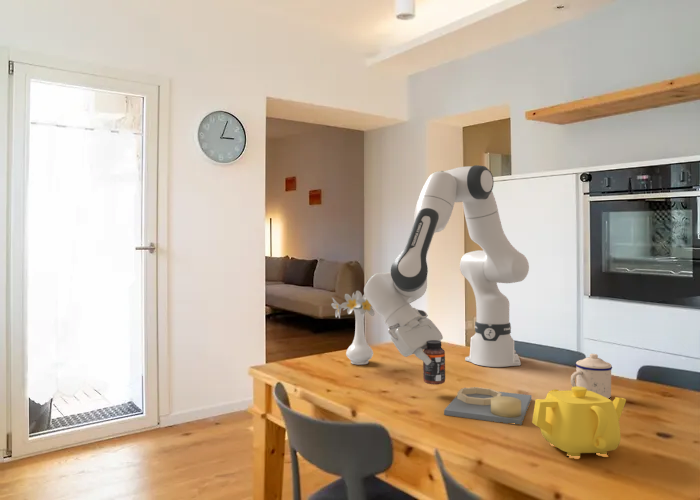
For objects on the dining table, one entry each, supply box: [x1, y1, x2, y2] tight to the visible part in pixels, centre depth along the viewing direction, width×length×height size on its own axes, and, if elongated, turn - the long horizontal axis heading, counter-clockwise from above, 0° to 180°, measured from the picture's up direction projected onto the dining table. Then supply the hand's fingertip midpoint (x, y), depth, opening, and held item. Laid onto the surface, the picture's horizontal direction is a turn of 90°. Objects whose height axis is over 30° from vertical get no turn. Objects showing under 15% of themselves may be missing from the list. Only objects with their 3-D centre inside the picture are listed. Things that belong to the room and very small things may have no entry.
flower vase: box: [330, 290, 375, 366], centre depth 187 cm, size 13×18×25 cm
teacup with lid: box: [570, 353, 613, 399], centre depth 147 cm, size 12×9×12 cm
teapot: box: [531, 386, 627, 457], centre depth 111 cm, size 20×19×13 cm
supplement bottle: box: [422, 340, 446, 386], centre depth 148 cm, size 6×6×11 cm
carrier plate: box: [443, 386, 532, 426], centre depth 138 cm, size 22×18×4 cm
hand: (436, 360), depth 148 cm, fingers closed on supplement bottle, 6 cm apart
